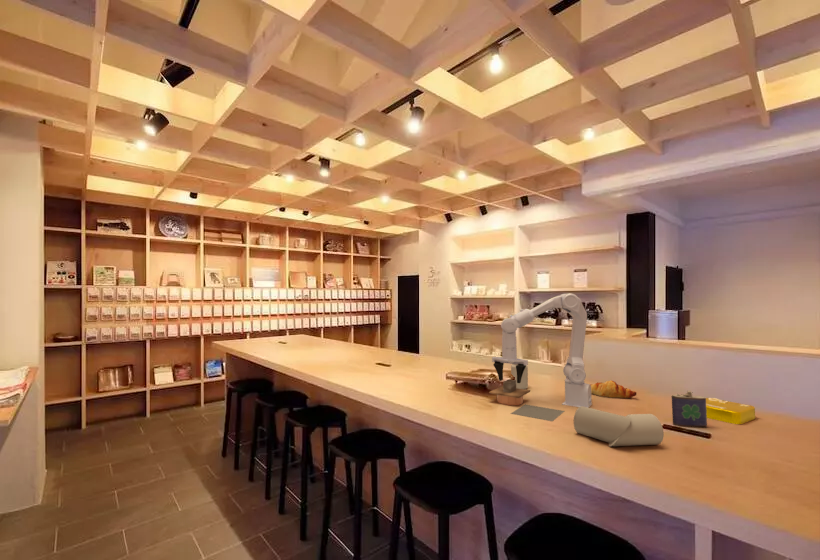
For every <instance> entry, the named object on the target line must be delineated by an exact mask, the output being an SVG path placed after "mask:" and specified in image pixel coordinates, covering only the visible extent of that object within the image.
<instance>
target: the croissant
mask: <svg viewBox="0 0 820 560" xmlns="http://www.w3.org/2000/svg"><path fill="white" fill-rule="evenodd" d="M589 384H590V383H589ZM590 385H591V395H594V396H597V397H598V396H599V397H604V398H610V399H611V398H612V399H614V398H615V399H631V398H633V397H637V391H635V390H631V389H630V388H626V387H624V386H623V385H622V384H617V382H616V381H614V380H612V379H610V380H606V381H605V382H599V381H598V382H595V383H591V384H590Z"/></svg>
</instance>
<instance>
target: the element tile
mask: <svg viewBox="0 0 820 560" xmlns="http://www.w3.org/2000/svg"><path fill="white" fill-rule="evenodd" d="M705 398H706V415H707V419H711V420H715V421H719V422H723V423H727V424H732V425H743V424H746V423H749V422H751V421H754V420H755V419H756V407H755V406H753V405H751V404H743V403H739V402H736V401H735V402H734V401H728V400H724V399H720V398H716V397H705Z"/></svg>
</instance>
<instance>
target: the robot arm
mask: <svg viewBox="0 0 820 560" xmlns="http://www.w3.org/2000/svg"><path fill="white" fill-rule="evenodd" d="M582 302H583V301H582V299H581V298H580V297H578V296H577V294H575V293H569V292H568V293H561V294H559V295H556V296H554V297H552V298H549V299H547V300H545V301H544V302H542V303H540V304H538V305H536V306H535V307H533V308H531V309H528V308H521V309H519V311H518V312H516V313H514V314H513V315H512V314H510V315H509V318H504V319H503V320H502V321H501V324H500V328H501V330H502V332H501V335H502V336H501V355H502V356H501V357H500V356H492V357H491V362H492V363H493V367H494V369H495V371H496V373H497V376H498V380H499V382H500V381H501V382H502V381H503V379H504V364H509V365H512V364H518V365H516V371H517V383H521V378H522V374H523V372H524V370H525V368H526V365H527V366H528V365H529V360H528V359H522V358H518V356H517V354H518V353H517V334H516V333H517V330H518V328H519V329H520V328H522V327H524V326H527V325H528V324H530V323H532V322H533V321H534V320H535V317H536V316H539V315H542V314H543V313H545V312H547V311H549V310H551V309H562V310H564V311H566V312H567V313H568V314H569V315H570V316H571V317H572V324H571V333H570V334H571V335H570V343H569V352H568V357H567V358H566V364H565V365H564V366H563V370H562V371H563V374H564V376H565V378H564V402H562V403H561V405H564V406H568V407H576V408H579V407H581V406H584V407H588V408H591V406H592V405H593V403H592V401H593V399H592V394H591V385H590V383H587V382H585V380H586V377H587V374H586V370H585V363H584V360H583V359H584V348H585V341H586V332H587V330H586V329H587V320H588V313H587V311H586V308H585V307H584V305H583V303H582Z"/></svg>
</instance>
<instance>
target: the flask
mask: <svg viewBox="0 0 820 560" xmlns="http://www.w3.org/2000/svg"><path fill="white" fill-rule="evenodd" d="M706 398H707V397H705V396H700V395H699V396H697V395H696V396H695V395H693V392H692V391H691V390H687V391H686V393H685V394H683V393H681V394H679V393H676V394H673V395H671V409H672V411H671V413H672V415H671V416H672V425H673V426H676V427H682V428H684V427H685V428H702V429H704V428H708V421H707V419H708V418H707V415H706Z"/></svg>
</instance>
